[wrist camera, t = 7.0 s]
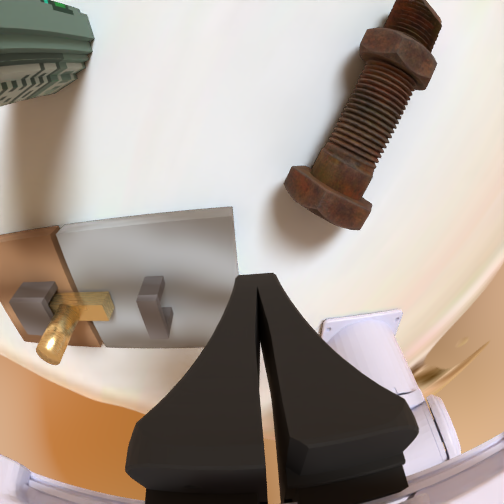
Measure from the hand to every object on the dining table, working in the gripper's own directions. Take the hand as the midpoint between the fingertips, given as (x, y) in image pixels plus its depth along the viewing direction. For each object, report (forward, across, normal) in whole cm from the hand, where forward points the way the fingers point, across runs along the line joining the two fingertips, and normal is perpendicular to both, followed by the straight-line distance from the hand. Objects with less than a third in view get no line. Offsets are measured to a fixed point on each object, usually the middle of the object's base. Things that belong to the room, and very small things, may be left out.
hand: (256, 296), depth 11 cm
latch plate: (+10, +13, +7) cm, 18 cm away
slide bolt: (+9, +15, +7) cm, 19 cm away
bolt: (+11, -8, -6) cm, 15 cm away
